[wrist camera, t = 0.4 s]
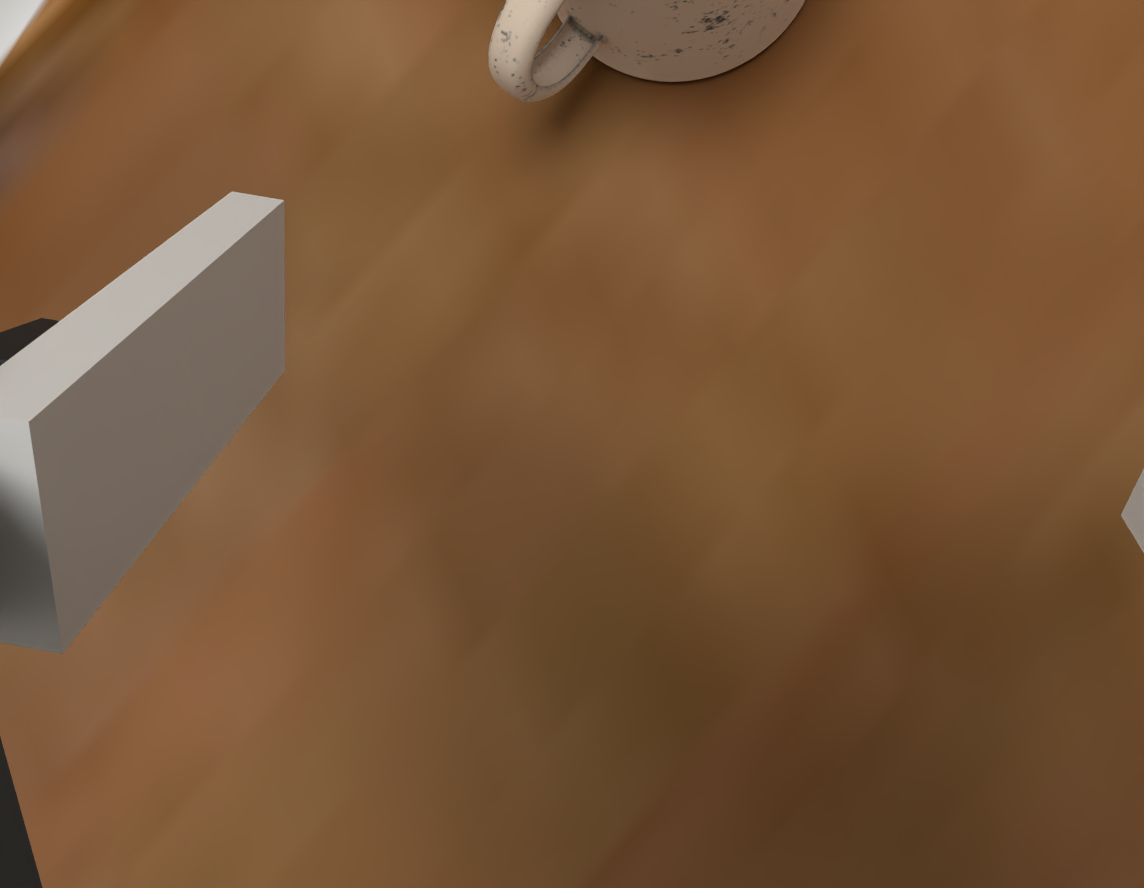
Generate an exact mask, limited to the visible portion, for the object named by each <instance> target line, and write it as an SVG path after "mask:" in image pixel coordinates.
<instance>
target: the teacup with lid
mask: <svg viewBox="0 0 1144 888" xmlns="http://www.w3.org/2000/svg"><path fill="white" fill-rule="evenodd" d="M804 2H805V0H506V2H505V4H504V6H503V8H502V10H501V12H500V14H499V17H498V19H497V22H496V25H495V27H494V30H493V34H492V37H491V41H490V45H489V53H488V63H489V69H490V73H491V75H492V77H493V79H494V81H495V82H496V83H497V85H499V86H500V87H501V88H502V89H503V90H504V91H506V92H507V93H509V94H510V95H512V96H513V97H515V98H516V99H518V100H521V101H524V102H538V101H542V100H544V99H547V98H549V97H551V96H553V95H554V94H556V93H558V92H559V91H560V90H562V89H563V88H564V87H565V86H567V85H568V84H569V83H570V82H571V81H572V80H573V79H574V78H575V77H576V76H577V74H578V73H579V72H580V71H581V70H582V69H583V67H584V66H585V65H586V64H587V62H588V61H589V60H590V59H591V57H592V56H594V57H595V58H596V59H598V60H599V61H601V62H603V63H604V64H606V65H608V66H610V67H612V68H614V69H616V70H618V71H620V72H623V73H625V74H628V75H631V76H634V77H638V78H642V79H647V80H654V81H664V82H680V81H691V80H698V79H703V78H707V77H711V76H715V75H717V74H720V73H723V72H726V71H728V70H731V69H733V68H735V67H737V66H739V65H741V64H743V63H745V62H746V61H748V60H750V59H752V58H753V57H755V56H756V55H757V54H759V53H760V52H762V51H763V50H764V49H766V48H767V47H768V46H769V45H770V44H771V43H773V42H774V41H775V40H776V39H777V38H778V37H779V36H780V35H781V34H782V33H783V32H784V31H785V29H786V28H787V27H788V26H789V24H790V23H791V22H792V21H793V19H794V18H795V17H796V15H797V14H798V12H799V11H800V9H801V8H802V6H803V4H804ZM556 14H557V15H558V17H559V19H560V21H561V22H562V26H561V27H560V28H559V29H558V31H557V32H556V33H555V35H554V36H553V37H552V38H551V40H550V41H549V42H548V43H547V44H546V45H545V46H544V47H543V48H542V50H541V51H539V52H538V53H537V54H536V52H537V50H538V47H539V45H540V42H541V40H542V38H543V36H544V34H545V32H546V30H547V28H548V27H549V25H550V23H551V22H552V20H553V18H554V17H555V15H556Z"/></svg>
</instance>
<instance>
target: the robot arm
mask: <svg viewBox="0 0 1144 888" xmlns="http://www.w3.org/2000/svg"><path fill="white" fill-rule="evenodd" d="M284 371H285V297H284V200H279V199H273V198H267V197H261V196H255V195H250V194H244V193H238V192H231V193H229V194H228V195H227V196H225V197H224V198H223V199H221V200H220V201H219V202H217V203H216V204H215V205H213V206H212V207H211V208H209V209H208V210H207V211H205V212H204V213H203V214H201V215H200V216H199V217H197V218H196V219H195V220H193V221H192V222H191V223H189V224H188V225H187V226H185V227H184V228H183V229H181V230H180V231H179V232H178V233H176V234H175V235H174V236H172V237H171V238H170V239H168V240H167V241H166V242H164V243H163V244H162V245H160V246H159V247H158V248H156V249H155V250H154V251H152V252H151V253H150V254H148V255H147V256H146V257H144V258H143V259H142V260H140V261H139V262H138V263H136V264H135V265H134V266H132V267H131V268H130V269H128V270H127V271H126V272H124V273H123V274H122V275H120V276H119V277H118V278H116V279H115V280H114V281H112V282H111V283H110V284H108V285H107V286H106V287H104V288H103V289H102V290H100V291H99V292H98V293H97V294H95V295H94V296H93V297H91V298H90V299H89V300H87V301H86V302H85V303H83V304H82V305H81V306H79V307H78V308H77V309H75V310H74V311H73V312H71V313H70V314H69V315H67V316H66V317H65V318H63V319H62V320H61V321H56V320H50V319H44V318H40V319H38V320H35V321H32V322H29V323H26V324H23V325H20V326H18V327H15V328H12V329H9V330H6V331H3V332H1V333H0V643H6V644H11V645H17V646H22V647H28V648H33V649H39V650H44V651H50V652H55V653H61V654H63V653H64V652H65V650H66V649H67V648H68V647H69V645H70V644H71V643H72V641H73V640H74V639H75V638H76V636H77V635H78V634H79V633H80V631H81V630H82V629H83V627H84V626H85V625H86V624H87V622H88V621H89V620H90V618H91V617H92V616H93V615H94V613H95V612H96V611H97V610H98V608H99V607H100V606H101V604H102V603H103V602H104V601H105V599H106V598H107V597H108V596H109V594H110V593H111V592H112V590H113V589H114V588H115V587H116V585H117V584H118V583H119V582H120V580H121V579H122V578H123V576H124V575H125V574H126V573H127V571H128V570H129V569H130V567H131V566H132V565H133V564H134V562H135V561H136V560H137V559H138V557H139V556H140V555H141V553H142V552H143V551H144V550H145V548H146V547H147V546H148V545H149V543H150V542H151V541H152V539H153V538H154V537H155V536H156V534H157V533H158V532H159V530H160V529H161V528H162V527H163V525H164V524H165V523H166V522H167V520H168V519H169V518H170V516H171V515H172V514H173V513H174V511H175V510H176V509H177V508H178V506H179V505H180V504H181V502H182V501H183V500H184V499H185V497H186V496H187V495H188V494H189V492H190V491H191V490H192V488H193V487H194V486H195V485H196V483H197V482H198V481H199V479H200V478H201V477H202V476H203V474H204V473H205V472H206V471H207V469H208V468H209V467H210V465H211V464H212V463H213V462H214V460H215V459H216V458H217V457H218V455H219V454H220V453H221V451H222V450H223V449H224V448H225V446H226V445H227V444H228V443H229V441H230V440H231V439H232V437H233V436H234V435H235V434H236V432H237V431H238V430H239V428H240V427H241V426H242V425H243V423H244V422H245V421H246V420H247V418H248V417H249V416H250V414H251V413H252V412H253V411H254V409H255V408H256V407H257V406H258V404H259V403H260V402H261V400H262V399H263V398H264V397H265V395H266V394H267V393H268V392H269V390H270V389H271V388H272V386H273V385H274V384H275V383H276V381H277V380H278V379H279V377H280V376H281V375H282V374H283V372H284ZM1121 516H1122V518H1123V520H1124V521H1125V523H1126V525H1127V526H1128V528H1129V529H1130V531H1131V533H1132V534H1133V536H1134V538H1135V539H1136V541H1137V542H1138V544H1139V546H1140V547H1141V549H1142V551H1143V552H1144V469H1143V471H1142V473H1141V475H1140V477H1139V479H1138V481H1137V483H1136V485H1135V487H1134V489H1133V492H1132V494H1131V496H1130V498H1129V500H1128V502H1127V504H1126V506H1125V508H1124V510H1123V512H1122V514H1121ZM0 888H42V885H41V881H40V878H39V874H38V870H37V867H36V863H35V860H34V856H33V852H32V849H31V845H30V842H29V838H28V835H27V831H26V827H25V824H24V820H23V817H22V813H21V810H20V806H19V802H18V799H17V795H16V792H15V788H14V784H13V781H12V777H11V774H10V770H9V767H8V763H7V759H6V756H5V752H4V749H3V745H2V741H1V738H0Z"/></svg>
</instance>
